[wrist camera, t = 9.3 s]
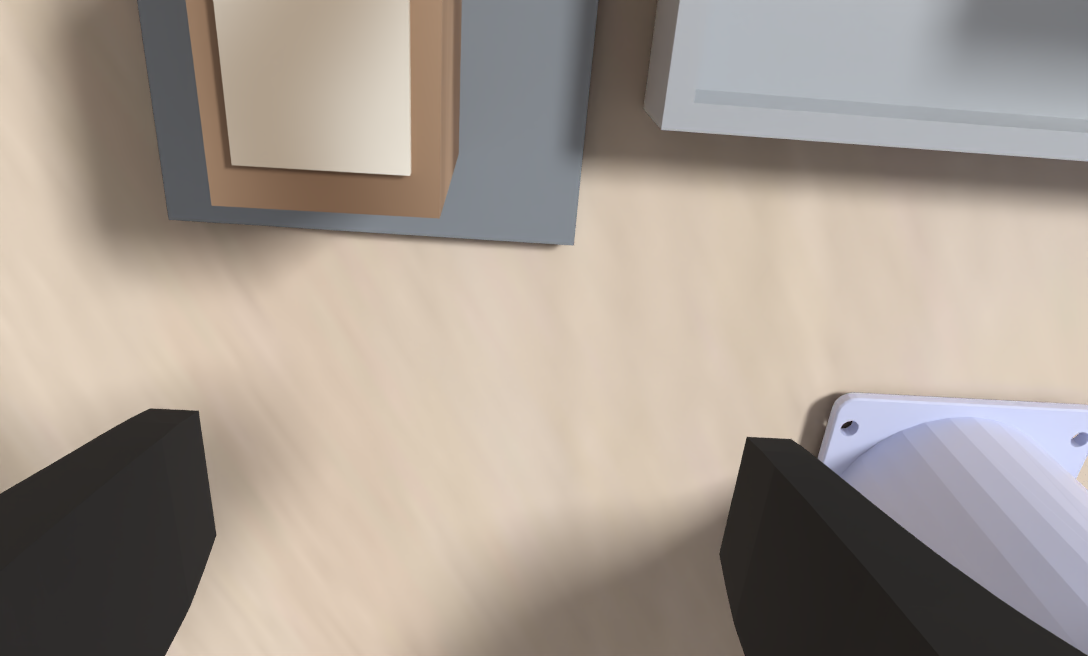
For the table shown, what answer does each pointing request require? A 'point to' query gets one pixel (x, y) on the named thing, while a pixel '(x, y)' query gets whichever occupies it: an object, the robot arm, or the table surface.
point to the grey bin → (877, 73)
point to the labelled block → (329, 103)
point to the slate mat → (484, 126)
